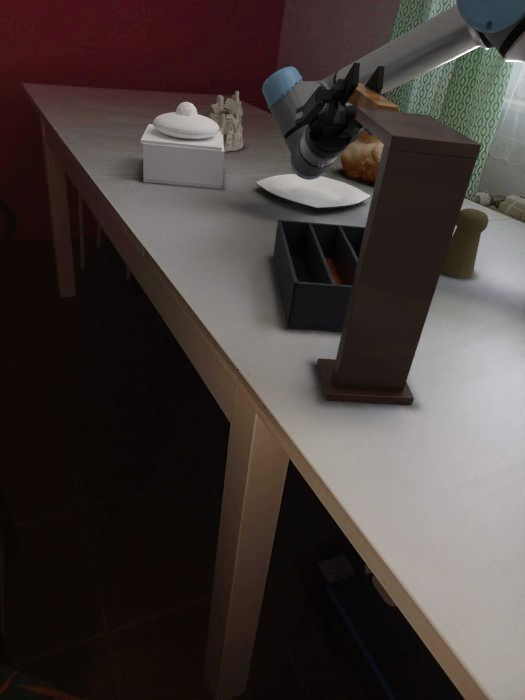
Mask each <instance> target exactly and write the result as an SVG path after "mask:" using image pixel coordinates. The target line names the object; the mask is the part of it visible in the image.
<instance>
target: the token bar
mask: <svg viewBox="0 0 525 700" xmlns="http://www.w3.org/2000/svg"><path fill="white" fill-rule="evenodd" d="M348 102H349V103H350V104H352V105H353V106H354V107H355V108H356V109H357V108H358V107H360V108H369V109H378V110H387V111H396V112H400V109H401V106H399V105H397V104H395V103H394V102H392V101H390V100H389V99H387V97H386V98H384V97H382V96H381V95H379V94H378V93H376V92H374V91H373V90H371V89H369V88H368V87H366V86H365V85H363V84H361V83H359V84H358V86H357V88H356V89H355V91H354V92H353V94H352V95H351V97H350V98H349V99H348Z"/></svg>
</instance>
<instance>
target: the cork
mask: <svg viewBox="0 0 525 700" xmlns="http://www.w3.org/2000/svg"><path fill="white" fill-rule="evenodd" d="M488 225H489V215H488V214H487V213H486V212H484V211H482V210H480V209H476V208H463V209H462V208H461V210H460V214H459V217H458V220H457V223H456V226H455V229H454V233H453V236H452V239H451V242H450V245H449V248H448V251H447V255H446V258H445V261H444V264H443V267H442V270H441V273H443V274H445V275H447V276H450V277H453V278H456V279H457V278H458V279H469V278H472V277H473V276H474V270H475V266H476V265H475V264H476V260H477V256H478V250H479V246H480V245H479V244H480V240H481V235H482V233H483V232H484V231H485V230H486V229H487V227H488Z"/></svg>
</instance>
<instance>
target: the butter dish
mask: <svg viewBox="0 0 525 700" xmlns="http://www.w3.org/2000/svg"><path fill="white" fill-rule="evenodd" d="M141 144H142V156H143V157H142V158H143V159H142V162H143V163H142V164H143V165H142V168H143V169H142V172H143V173H142V174H143V175H142V177H143V181H142V183H151V184H161V185H163V184H164V185H175V186H186V187H198V188H207V189H218V190H219V189H220V190H223V181H224V166H225V153H226V151H224V143H223V134H221V131H219V126H218V124H217V123H216V122H214V121H213V120H212V119H210V118H208V117H205V116H203V114H199V113H198V110H197V108H196V106H195V105H194V103H192V102H189V101H183V102H181V103H179V104H178V106H177V107H176V109H175V111H172V112H166V113H162V114H160V115H157V116H156V117H155V118H154V119H153V121H152V123H148V125H147V126H146V128H145V130H144V132H143V134H142V136H141V138H140V145H141Z"/></svg>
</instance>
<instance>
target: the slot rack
mask: <svg viewBox="0 0 525 700" xmlns="http://www.w3.org/2000/svg"><path fill="white" fill-rule="evenodd" d="M276 224H277V225H276V232H275V240H274V245H273V246H274V247H273V255H272V260H273V264H274V270H275V275H276V280H277V285H278V289H279V294H280V295H279V296H280V299H281V305H282V310H283V314H284V320H285V325H286V328H287V329H293V330H311V331H322V332H323V331H325V332H338V333H339V332H340V333H342V329H343V325H344V320H345V316H346V311H347V307H348V302H349V298H350V293H351V289H352V285H353V280H354V276H355V271H356V267H357V262H358V258H359V253H360V249H361V244H362V240H363V235H364V231H365V226H357V225H347V224H346V225H345V224H333V223H320V222H309V221H297V220H289V219H288V220H287V219H277V223H276Z"/></svg>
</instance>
